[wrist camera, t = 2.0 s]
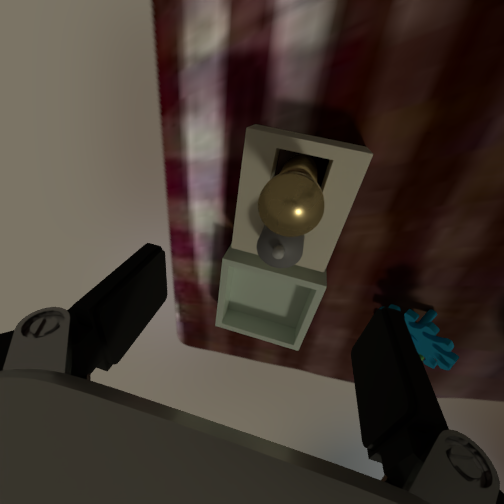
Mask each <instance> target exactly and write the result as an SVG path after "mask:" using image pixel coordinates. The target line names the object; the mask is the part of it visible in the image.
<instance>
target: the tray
mask: <svg viewBox="0 0 504 504" xmlns="http://www.w3.org/2000/svg"><path fill="white" fill-rule="evenodd" d="M231 245H232V243H231ZM231 245H230V247H229V248H228V250H227V252H226V253H225V255H224V257H223V258H222V268H221V277H220V287H219V296H218V306H217V316H216V325H215V326H218V327H222V328H225V329H228V330H231V331H235V332H238V333H241V334H244V335H248V336H251V337H254V338H258V339H261V340H264V341H267V342H271V343H274V344H277V345H281V346H284V347H287V348H290V349H294V350H297V351H298V350H299V348H300V346H301V344H302V341H303V339H304V337H305V335H306V332H307V330H308V328H309V326H310V323H311V321H312V319H313V317H314V314H315V312H316V310H317V308H318V305H319V303H320V301H321V299H322V296H323V294H324V292H325V290H326V287H327V278H326V269H325V271H324V272H320V271H317V270H313V269H309V268H305V267H301V266H298V265H293V266H291V267H288V268H275V267H272V266H269V265H268V264H266V263H265V262H264V261H263V260H262V259H261V258H260V257H259V255H256V254H253V253H249V252H245V251H241V250H237V249H234V248H231Z"/></svg>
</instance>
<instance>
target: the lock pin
mask: <svg viewBox="0 0 504 504" xmlns="http://www.w3.org/2000/svg"><path fill="white" fill-rule="evenodd" d="M317 173H318V170H317V165H316V163H315V161H314V160H313V159H312V158H311V157H309V156H307V155H304V154H297V155H294V156H292V157H290V158H289V159H288V160H287V161H286V163H285V164H284V166H283V168H282V170H281V172H280V174H278V175H276V176H274V177H273V178H272V179H270V180H269V181H268V182H267V183H266V185H265V186H264V188H263V189H262V191H261V193H260V196H259V199H258V211H259V215H260V217H261V220H262V221H263V223H264V224H265V225H266V226H267V227H268V228H269V229H270V230H271V231H273V232H275V233H276V234H279V235H282V236H286V237H296V236H301V235H304V234H306V233H308V232H310V231H311V230H313V229H314V228H315V227H316V226H317V225H318V224H319V222H320V220H321V219H322V216H323V213H324V195H323V192H322V190H321V188H320V186H319V185H318V183H317Z"/></svg>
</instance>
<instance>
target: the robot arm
mask: <svg viewBox="0 0 504 504" xmlns="http://www.w3.org/2000/svg"><path fill="white" fill-rule="evenodd" d="M166 298H167V279H166V263H165V252H164V251H163V250H162V248H161V247H160V246H157V245H154V244H150V243H147V244H145V245H144V246H143V247H142V248H140V249H139V250H138V251H137V252H136V253H134V254H133V255H132V256H131V257H130V258H129V259H127V260H126V261H125V262H124V263H123V264H121V265H120V266H119V267H118V268H117V269H115V271H113V272H112V273H111V274H110V275H108V276H107V277H106V278H105V279H104V280H102V281H101V282H100V283H99V284H98V285H97V286H95V287H94V288H93V289H92V290H90V291H89V292H88V293H87V294H86V295H85V296H83V297H82V298H81V299H80V300H79V301H77V302H76V303H75V304H74V305H73V306H72V307H71V308H70V309H69V310H65V309H63V308H59V307H50V308H45V309H41V310H38V311H35V312H33V313H31V314H29V315H28V316H26V317H25V318H23V319H22V320H21V321H20V322H19V323H18V325H17V326H16V328H15V330H13V331H10V332H6V333H2V334H0V504H504V493H503V492H501V490H500V489H499V488H500V481H499V478H498V475H497V471H496V470H495V468H494V466H493V464H492V462H491V461H490V459H489V458H488V457H487V455H486V454H485V453H484V451H483V450H482V449H481V448H480V447H479V446H478V445H477V444H476V443H475V442H474V441H472V440H471V439H470V438H468V437H467V436H465V435H464V434H462V433H459V432H458V431H454V430H449V429H448V426H447V424H446V421H445V418H444V416H443V414H442V411H441V409H440V406H439V403H438V401H437V398H436V396H435V393H434V391H433V388H432V386H431V383H430V381H429V378H428V376H427V373H426V370H425V368H424V365H423V363H422V360H421V358H420V355H419V354H418V352H417V350H416V347H415V345H414V342H413V340H412V337H411V335H410V332H409V330H408V327H407V325H406V322H405V320H404V317H403V314H402V313H401V311H399V310H395V309H392V308H388V307H383V308H382V309H378V310H377V311H376V312H375V314H374V315H373V317H372V318H371V320H370V322H369V323H368V325H367V326H366V328H365V329H364V331H363V332H362V334H361V336H360V337H359V339H358V340H357V342H356V343H355V345H354V346H353V348H352V352H351V359H352V366H353V374H354V382H355V389H356V397H357V405H358V412H359V420H360V428H361V436H362V442H363V445H364V447H366V448H367V450H368V457H369V459H371V460H374V461H377V462H380V463H382V464H383V470H384V474H385V475H384V477H383V478H382V480H378V479H375V478H372V477H370V476H367V475H364V474H362V473H359V472H356V471H354V470H351V469H348V468H345V467H343V466H340V465H337V464H334V463H332V462H329V461H326V460H323V459H320V458H317V457H314V456H311V455H309V454H305V453H303V452H300V451H297V450H294V449H291V448H288V447H286V446H283V445H280V444H277V443H274V442H271V441H268V440H265V439H262V438H260V437H257V436H254V435H251V434H248V433H245V432H242V431H239V430H236V429H233V428H230V427H227V426H224V425H222V424H218V423H216V422H213V421H210V420H207V419H204V418H201V417H198V416H195V415H192V414H189V413H186V412H184V411H181V410H178V409H175V408H172V407H169V406H166V405H162V404H160V403H157V402H154V401H151V400H148V399H145V398H142V397H139V396H136V395H133V394H130V393H127V392H124V391H121V390H118V389H115V388H112V387H109V386H105V385H102V384H99V383H96V382H93V381H90V374H91V373H92V372H93V370H94V369H95V368H100V369H102V370H105V371H108V370H109V369H110V367H111V366H112V365H113V364H117V363H118V362H119V361H120V360H121V358H122V357H123V356H124V354H125V353H126V352H127V351H128V349H129V348H130V347H131V345H132V344H133V343H134V341H135V340H136V338H137V337H138V336H139V335H140V333H141V332H142V331H143V329H144V328H145V327H146V325H147V324H148V323H149V322H150V320H151V319H152V318H153V316H154V315H155V313H156V312H157V311H158V310H159V308H160V307H161V306H162V304H163V303H164V302H165V300H166Z"/></svg>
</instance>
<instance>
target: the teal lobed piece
mask: <svg viewBox="0 0 504 504" xmlns="http://www.w3.org/2000/svg"><path fill="white" fill-rule="evenodd" d="M383 307H384V306H383ZM383 307H380V308H379V309H382V308H383ZM388 308H392V309H395V310H399V311H401V309H400V307H398V306H396V305H393V304H391V305H390V306H389V307H388ZM436 315H437V313H436V312H435V311H434V310H431V309H430V310H429V311H428V312H427V313H426V314H425V315H424V316H423V317H422V319H421V320H420V321H419V322H418V323H417V322H415V321H416V320H417V319H418V317H419V315H418V314H417V313H416V312H414V311H412V310H411V309H409V310H408V311H407V312H406V313H405V314H404V316H405V318H404V320H405V322H406V325H407V327H408V330H409V332H410V335H411V337H412V340H413V342H414V345H415V347H416V350H417V352H418V354H419V355H420V358H421V360H423V359H424V357H425V359H424V361H423V362H424V364H425V365H427V366H429V367H431V368H433V369H434V367H435V366H436V365H437V364H438V366H439V367H440V368H441V369H444V370H450V369H451V367H452V366H453V364H455V362H456V361H457V360H458V358H459V356H458V355H456V354H455V353H453V352H450V351H451V350H452V349H453V347H454V344H453V342H452V341H451V340H449V339H447V338H441V337H438V336H435V335H436V334H437V333H438V332H439V331H440V330H439V328H438V327H437V326H436V325H435V324H434V323H433V322H431V321H432V320H433V319H434V318H435V316H436ZM422 355H423V356H424V357H423V356H422ZM433 357H434V358H435V359H436V360H437V362H436V360H435V359H434V358H433Z"/></svg>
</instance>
